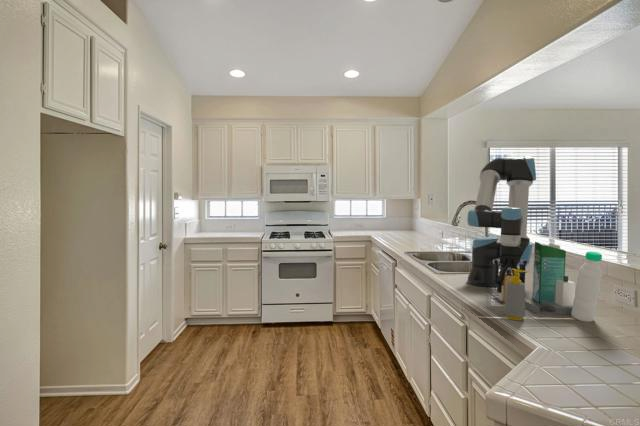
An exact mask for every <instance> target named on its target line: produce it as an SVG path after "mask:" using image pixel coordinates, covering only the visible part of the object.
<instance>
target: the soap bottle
mask: <svg viewBox="0 0 640 426" xmlns="http://www.w3.org/2000/svg"><path fill="white" fill-rule="evenodd" d="M512 270H514V274H515V276H513V279H511V281H508V282H507V289H506V300H505V305H504V311H503V312H504V313H503V314H504V315H505V317H506V319H509V320H513V321H522V320H524V318H525V317H526V307H525V301H526V289H525V285H526V283H525V284H524V283H522V282H521V280H520V278H519V277H518V275H519V272H525V273H527V270H525V271H523V270H519V269H511V271H512Z"/></svg>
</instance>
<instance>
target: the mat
mask: <svg viewBox="0 0 640 426" xmlns="http://www.w3.org/2000/svg"><path fill="white" fill-rule="evenodd" d="M491 299H492V300H493V301H495V302H497V303H498V304H500V305H504V306H505V302H503V301H500V300H499V297H491Z"/></svg>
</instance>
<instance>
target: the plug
mask: <svg viewBox="0 0 640 426" xmlns="http://www.w3.org/2000/svg"><path fill="white" fill-rule="evenodd" d="M513 276H515V275H513V273H512V269H507V270H506V273H505V277H504V280H503V283H502V285H503V286H504V299H503V302H505V300H506V289H507V282H508V281H511V279H513Z"/></svg>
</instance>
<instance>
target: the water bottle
mask: <svg viewBox="0 0 640 426" xmlns="http://www.w3.org/2000/svg"><path fill="white" fill-rule="evenodd" d="M602 259H603V255H602V253H600V252H598V251H597V252H596V251H587V252H585V262H584V263H582V265H581V267H579V269H578V275H577V280H576V283H575V298H574V301H573V307H572V311H571V314H570V315H571V316H572V318H573V319H575V320H577V321H581V322H585V323H588V322H589V323H591V322H593V321H595V317H596V316H595V315H596V310H597V305H598V299H599V296H600V290H601V286H602V278H603V276H604V273H603V271H602V267H601V265H600V263H601V261H602Z"/></svg>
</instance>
